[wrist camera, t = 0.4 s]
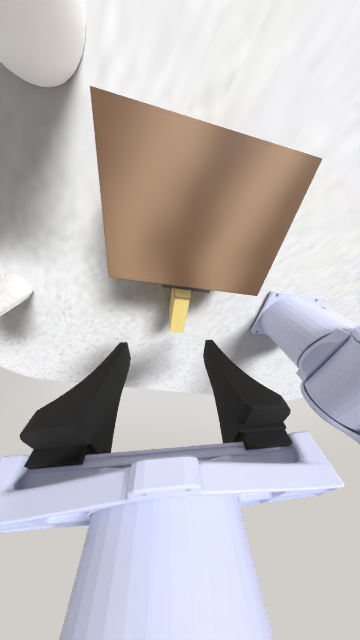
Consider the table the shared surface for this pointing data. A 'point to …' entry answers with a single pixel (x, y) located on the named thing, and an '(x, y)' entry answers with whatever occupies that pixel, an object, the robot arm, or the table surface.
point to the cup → (42, 39)
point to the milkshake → (13, 291)
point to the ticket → (178, 309)
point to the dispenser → (192, 197)
